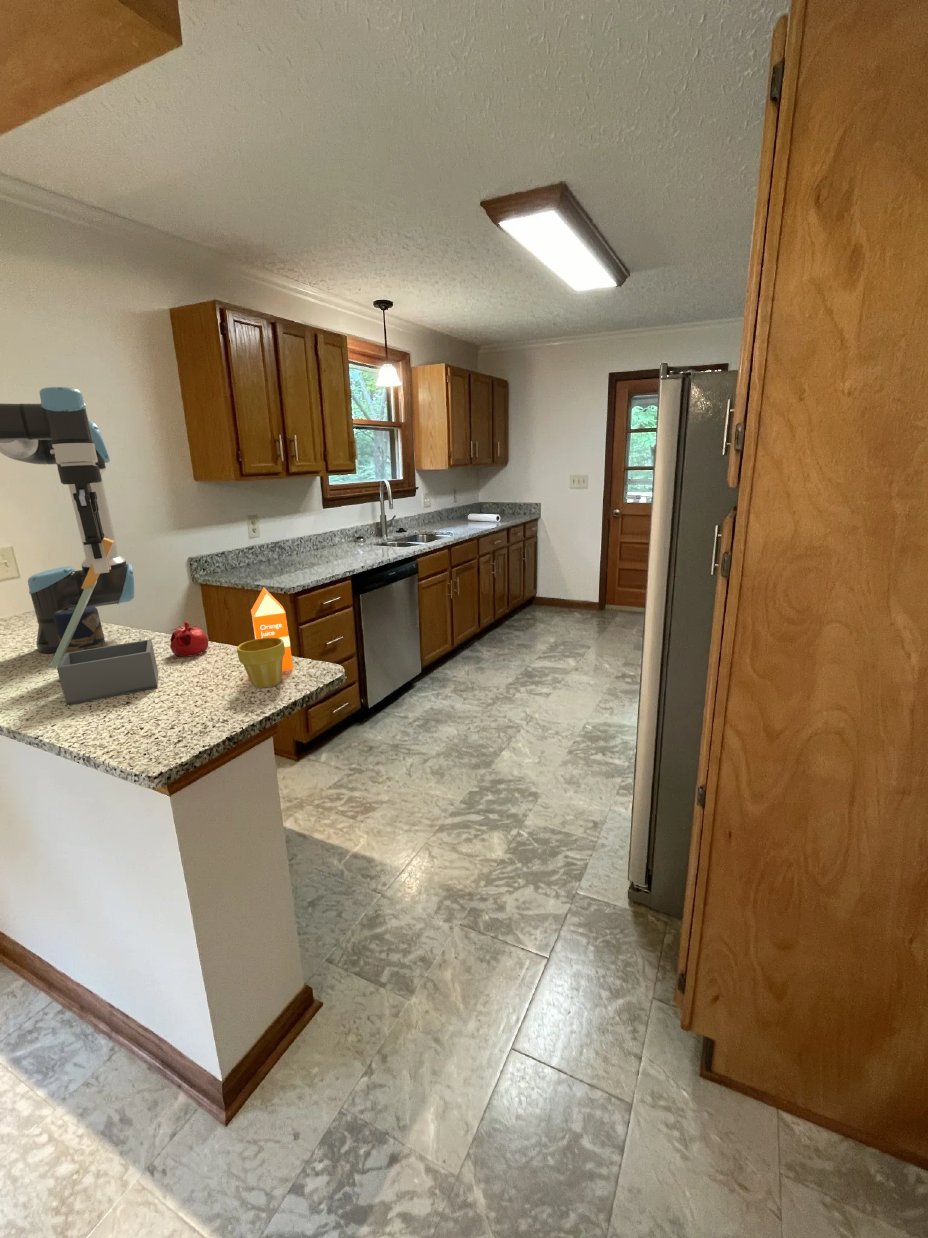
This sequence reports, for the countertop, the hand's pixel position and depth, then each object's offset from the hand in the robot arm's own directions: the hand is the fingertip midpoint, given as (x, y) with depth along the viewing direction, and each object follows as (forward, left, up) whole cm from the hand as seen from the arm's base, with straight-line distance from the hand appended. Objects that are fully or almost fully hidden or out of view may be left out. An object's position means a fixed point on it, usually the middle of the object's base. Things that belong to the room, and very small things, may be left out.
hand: (103, 571), depth 126 cm
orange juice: (+7, +33, -28) cm, 44 cm away
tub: (0, -3, -28) cm, 28 cm away
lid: (0, -4, -6) cm, 8 cm away
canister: (-18, -10, -28) cm, 35 cm away
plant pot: (+18, +29, -28) cm, 44 cm away
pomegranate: (-19, +14, -28) cm, 37 cm away
